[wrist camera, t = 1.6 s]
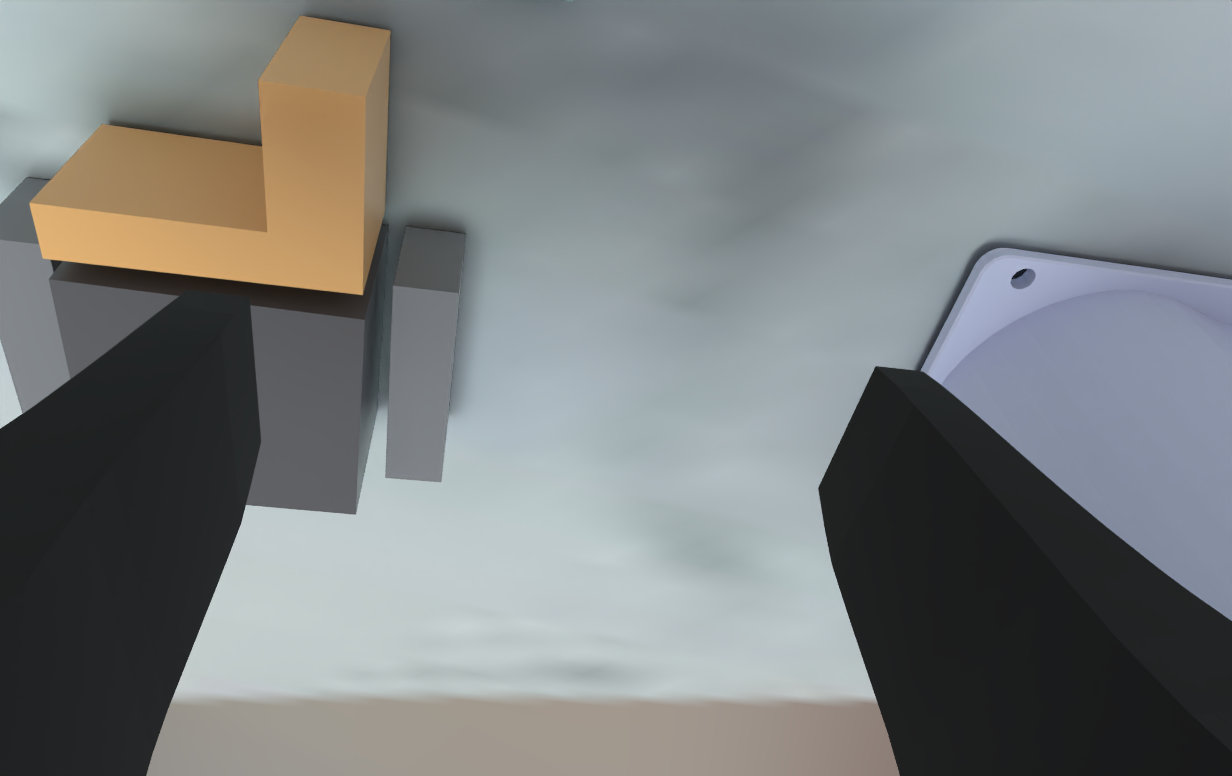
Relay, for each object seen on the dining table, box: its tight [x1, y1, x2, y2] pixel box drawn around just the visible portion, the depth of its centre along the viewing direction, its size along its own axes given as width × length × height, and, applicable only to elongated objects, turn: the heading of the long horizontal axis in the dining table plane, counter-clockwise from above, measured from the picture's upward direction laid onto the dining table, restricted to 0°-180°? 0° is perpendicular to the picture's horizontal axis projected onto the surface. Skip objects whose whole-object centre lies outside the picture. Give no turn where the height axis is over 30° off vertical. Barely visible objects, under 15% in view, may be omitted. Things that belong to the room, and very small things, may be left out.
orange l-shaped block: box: [29, 16, 391, 295], centre depth 15 cm, size 5×4×3 cm
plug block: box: [49, 224, 389, 514], centre depth 18 cm, size 5×5×4 cm
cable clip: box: [0, 178, 466, 482], centre depth 18 cm, size 8×5×2 cm, turn 79°
